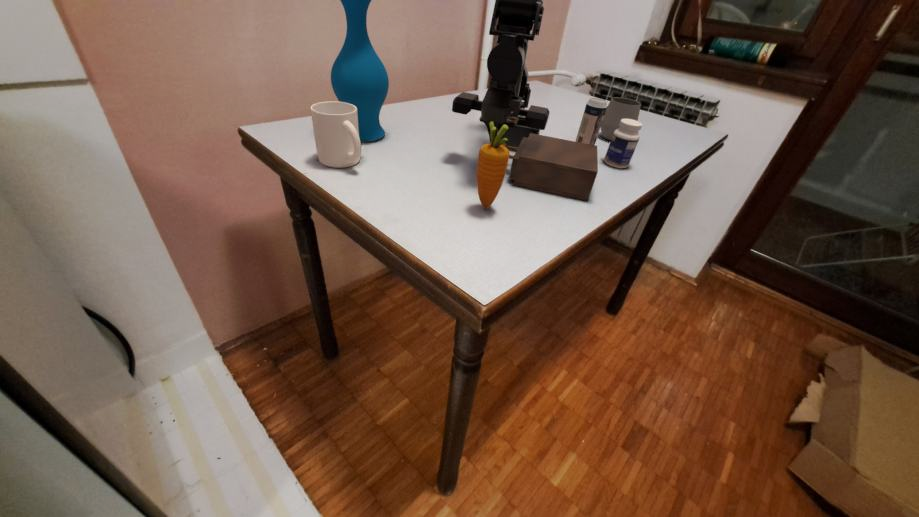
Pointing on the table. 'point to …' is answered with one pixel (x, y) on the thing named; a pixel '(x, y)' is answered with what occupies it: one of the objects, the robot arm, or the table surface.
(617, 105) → the cup
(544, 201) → the table surface
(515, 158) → the drawer
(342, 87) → the vase
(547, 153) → the cabinet
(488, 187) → the carrot
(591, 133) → the spice jar
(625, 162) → the pill bottle
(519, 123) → the black open box
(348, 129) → the mug
